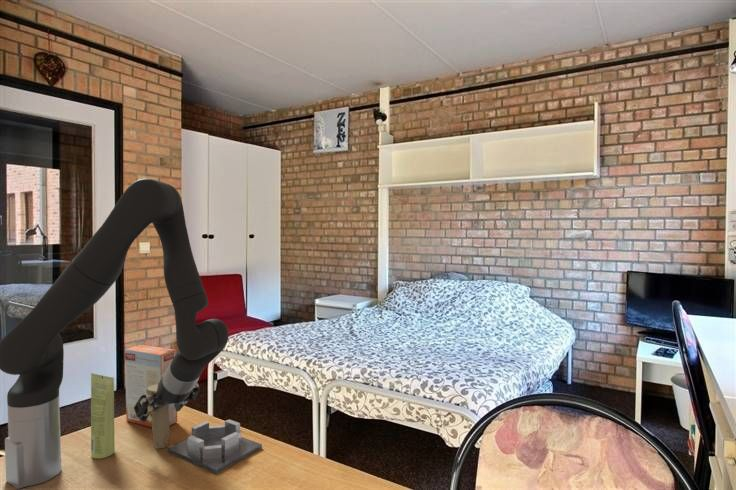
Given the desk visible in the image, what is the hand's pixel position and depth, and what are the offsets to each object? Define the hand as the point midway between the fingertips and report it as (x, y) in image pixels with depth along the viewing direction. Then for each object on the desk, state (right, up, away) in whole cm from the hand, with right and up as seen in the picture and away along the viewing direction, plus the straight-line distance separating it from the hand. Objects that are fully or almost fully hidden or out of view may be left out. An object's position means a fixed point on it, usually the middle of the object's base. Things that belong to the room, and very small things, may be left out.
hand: (159, 413), depth 115 cm
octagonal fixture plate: (+15, -9, -2) cm, 17 cm away
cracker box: (-9, -8, +14) cm, 18 cm away
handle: (0, -9, 0) cm, 9 cm away
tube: (-12, -9, -4) cm, 15 cm away
